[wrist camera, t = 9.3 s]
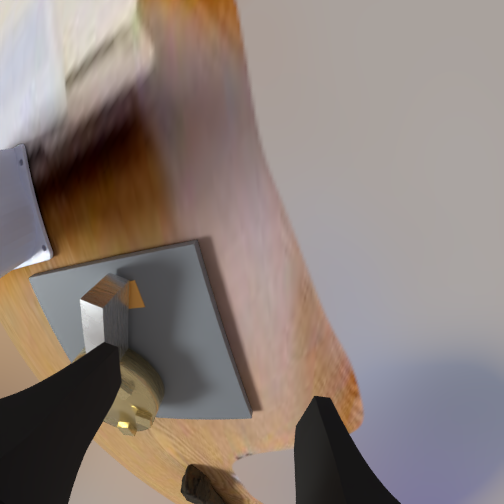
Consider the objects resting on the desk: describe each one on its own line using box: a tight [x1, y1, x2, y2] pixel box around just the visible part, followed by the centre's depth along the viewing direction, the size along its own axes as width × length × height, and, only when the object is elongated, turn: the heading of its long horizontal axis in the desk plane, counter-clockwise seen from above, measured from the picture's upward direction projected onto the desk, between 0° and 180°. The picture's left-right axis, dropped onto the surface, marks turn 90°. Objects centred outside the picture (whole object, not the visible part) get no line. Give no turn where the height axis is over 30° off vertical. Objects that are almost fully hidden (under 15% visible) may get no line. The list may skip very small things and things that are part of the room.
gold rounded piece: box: [72, 273, 165, 436], centre depth 18 cm, size 14×8×4 cm, turn 166°
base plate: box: [29, 240, 252, 419], centre depth 21 cm, size 16×16×1 cm
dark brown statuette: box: [181, 465, 225, 504], centre depth 29 cm, size 19×4×5 cm, turn 7°
